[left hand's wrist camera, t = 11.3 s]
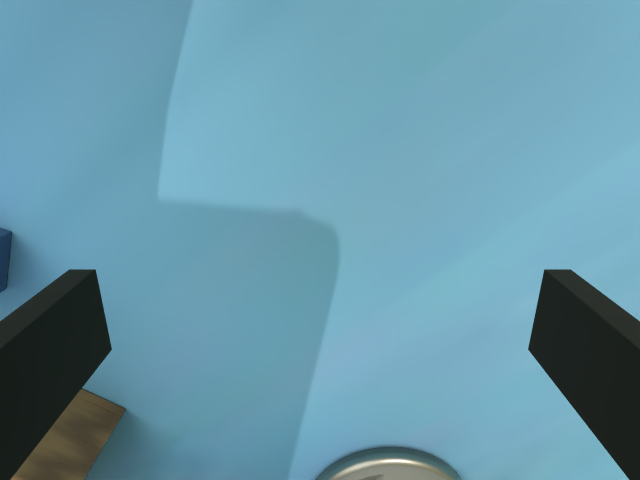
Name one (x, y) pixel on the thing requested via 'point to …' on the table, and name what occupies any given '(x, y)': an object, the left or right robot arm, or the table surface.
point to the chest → (72, 440)
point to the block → (4, 257)
